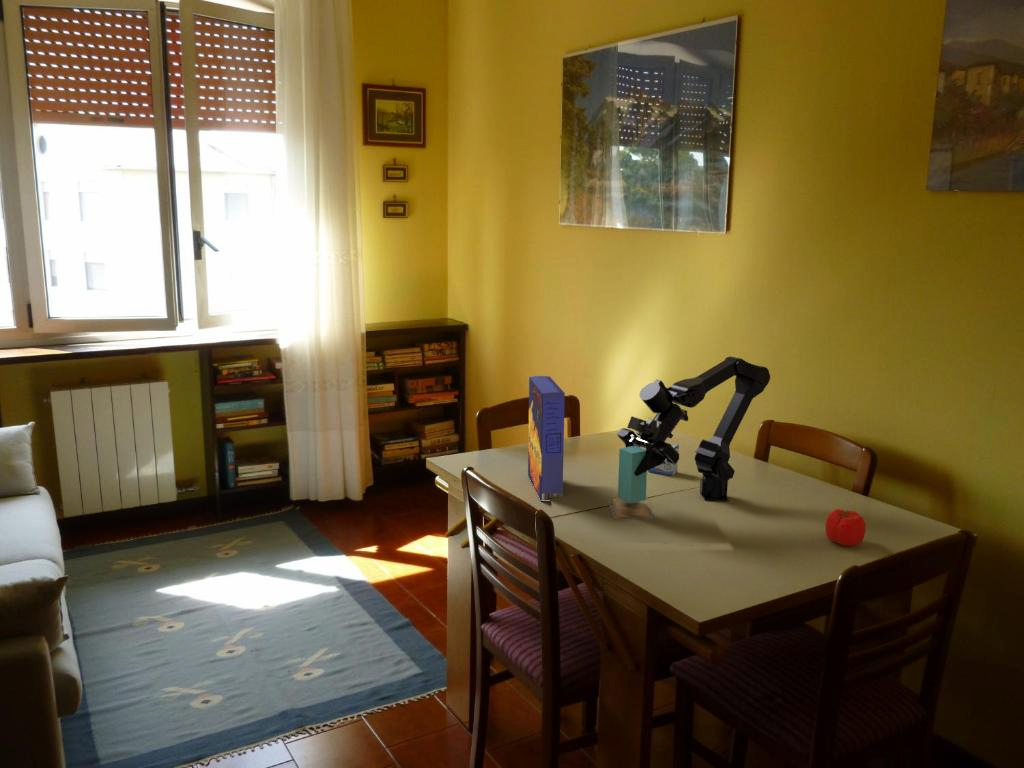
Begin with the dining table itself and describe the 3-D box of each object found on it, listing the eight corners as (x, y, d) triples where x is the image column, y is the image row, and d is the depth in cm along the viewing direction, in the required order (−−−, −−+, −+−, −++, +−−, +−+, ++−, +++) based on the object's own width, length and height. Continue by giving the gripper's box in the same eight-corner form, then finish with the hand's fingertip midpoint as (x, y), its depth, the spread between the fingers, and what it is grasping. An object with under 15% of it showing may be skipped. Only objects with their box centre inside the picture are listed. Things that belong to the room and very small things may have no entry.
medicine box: (647, 472, 253) (648, 444, 251) (652, 468, 256) (653, 440, 255) (673, 476, 249) (674, 447, 247) (677, 472, 253) (679, 444, 251)
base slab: (647, 512, 221) (647, 505, 221) (653, 526, 212) (654, 519, 211) (608, 512, 221) (609, 505, 221) (613, 526, 212) (614, 518, 211)
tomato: (824, 533, 206) (827, 504, 205) (863, 538, 203) (866, 509, 201) (823, 547, 198) (826, 517, 196) (864, 553, 194) (867, 522, 193)
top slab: (643, 505, 220) (643, 498, 220) (648, 517, 213) (649, 509, 212) (612, 505, 220) (613, 498, 220) (617, 516, 213) (617, 509, 212)
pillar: (633, 494, 219) (634, 445, 216) (645, 499, 215) (647, 450, 212) (617, 497, 216) (619, 448, 214) (630, 503, 212) (632, 453, 209)
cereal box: (528, 476, 248) (529, 375, 242) (548, 475, 249) (549, 375, 242) (540, 501, 227) (542, 392, 220) (562, 500, 228) (564, 391, 221)
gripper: (623, 397, 220) (588, 444, 217) (672, 412, 205) (635, 463, 201) (645, 422, 226) (612, 469, 223) (695, 439, 210) (659, 489, 207)
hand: (628, 472), depth 213 cm, fingers closed on pillar, 5 cm apart
